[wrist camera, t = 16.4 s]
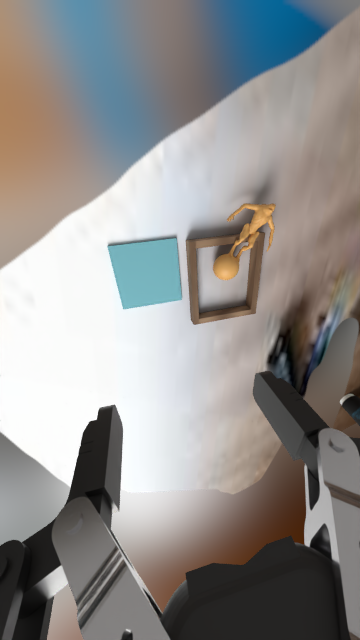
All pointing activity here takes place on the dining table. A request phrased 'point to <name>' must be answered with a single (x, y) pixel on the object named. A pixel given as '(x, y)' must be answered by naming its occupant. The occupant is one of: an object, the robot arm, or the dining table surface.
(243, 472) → the dining table surface
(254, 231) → the figurine
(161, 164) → the dining table surface
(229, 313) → the brown wooden frame
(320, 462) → the robot arm
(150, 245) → the teal pad
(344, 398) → the dixie cup
